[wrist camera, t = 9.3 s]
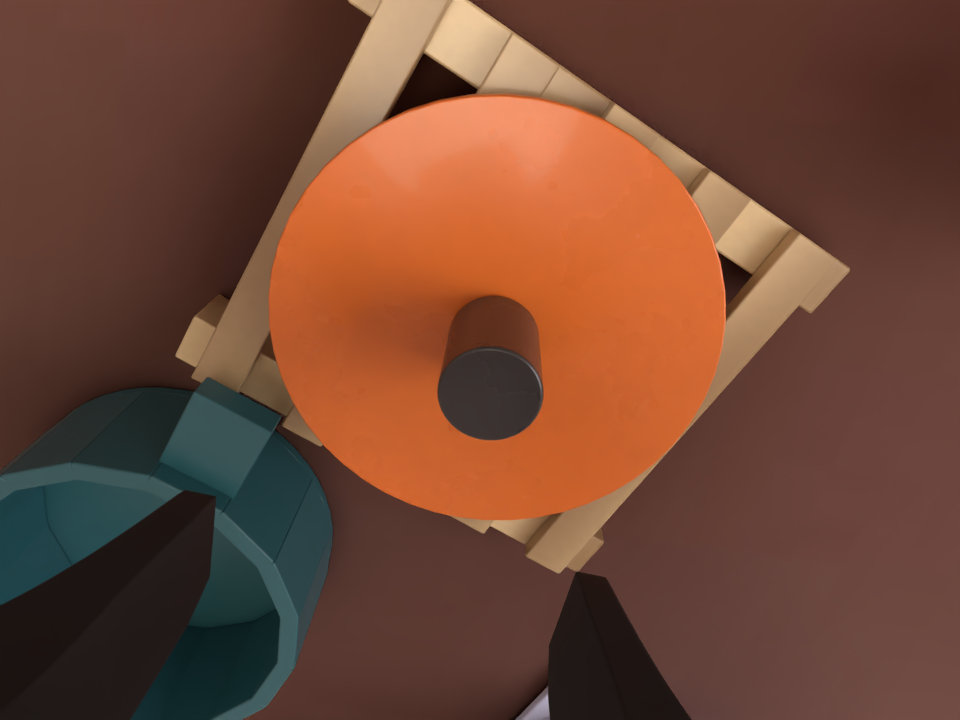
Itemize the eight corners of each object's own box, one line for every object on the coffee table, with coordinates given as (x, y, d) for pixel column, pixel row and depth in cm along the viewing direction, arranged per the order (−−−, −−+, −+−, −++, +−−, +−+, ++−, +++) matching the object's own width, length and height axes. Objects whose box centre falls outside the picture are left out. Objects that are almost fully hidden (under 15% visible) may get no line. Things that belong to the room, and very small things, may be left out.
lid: (811, 259, 19) (895, 322, 15) (550, 558, 23) (558, 669, 19) (415, -16, 16) (383, -33, 12) (212, 377, 21) (140, 459, 17)
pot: (423, 431, 24) (403, 519, 20) (233, 704, 31) (185, 818, 26) (120, 263, 22) (22, 319, 18) (-18, 593, 29) (-116, 696, 24)
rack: (823, 249, 21) (862, 276, 19) (572, 536, 26) (578, 585, 24) (390, -55, 18) (372, -68, 16) (200, 331, 23) (165, 365, 21)
